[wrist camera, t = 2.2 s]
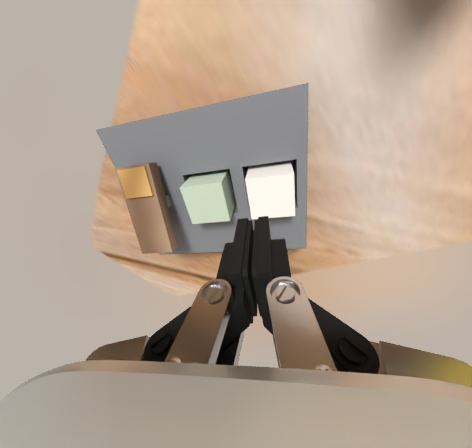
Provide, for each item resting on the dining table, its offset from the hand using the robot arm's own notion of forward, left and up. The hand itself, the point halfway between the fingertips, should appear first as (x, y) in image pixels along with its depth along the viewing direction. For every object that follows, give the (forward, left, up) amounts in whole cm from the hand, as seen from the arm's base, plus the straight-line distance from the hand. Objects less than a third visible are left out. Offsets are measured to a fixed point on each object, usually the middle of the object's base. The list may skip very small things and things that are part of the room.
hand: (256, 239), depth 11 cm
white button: (-1, 0, -9) cm, 9 cm away
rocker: (+10, 0, -5) cm, 12 cm away
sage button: (+5, 0, -9) cm, 10 cm away
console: (+5, 0, -11) cm, 12 cm away
